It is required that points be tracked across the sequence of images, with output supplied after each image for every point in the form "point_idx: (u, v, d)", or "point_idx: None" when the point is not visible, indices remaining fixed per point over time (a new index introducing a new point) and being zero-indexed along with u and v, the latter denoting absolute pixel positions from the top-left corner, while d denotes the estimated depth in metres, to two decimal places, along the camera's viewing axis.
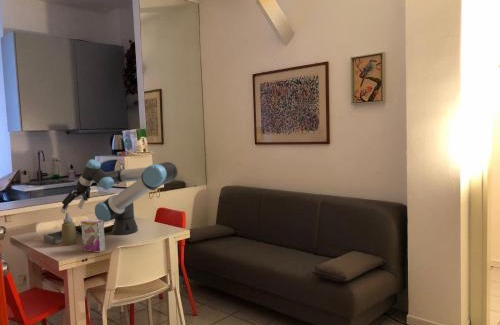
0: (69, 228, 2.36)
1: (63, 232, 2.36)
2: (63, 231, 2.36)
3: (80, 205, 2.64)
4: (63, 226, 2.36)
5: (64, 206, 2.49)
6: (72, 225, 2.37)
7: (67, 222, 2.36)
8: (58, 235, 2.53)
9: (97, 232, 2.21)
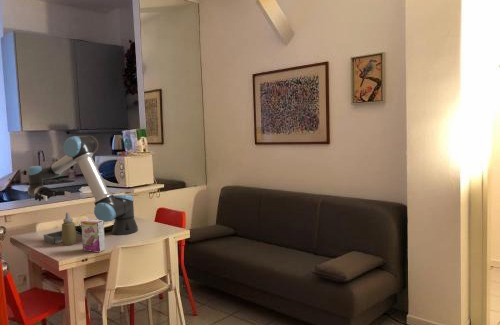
0: (69, 228, 2.36)
1: (63, 232, 2.36)
2: (63, 231, 2.36)
3: (68, 194, 2.49)
4: (63, 226, 2.36)
5: (39, 197, 2.41)
6: (72, 225, 2.37)
7: (67, 222, 2.36)
8: (58, 235, 2.53)
9: (97, 232, 2.21)
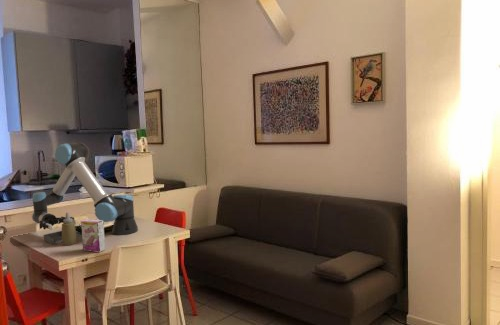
0: (69, 228, 2.36)
1: (63, 232, 2.36)
2: (63, 231, 2.36)
3: (72, 221, 2.48)
4: (63, 226, 2.36)
5: (44, 225, 2.39)
6: (72, 225, 2.37)
7: (67, 222, 2.36)
8: (58, 235, 2.53)
9: (97, 232, 2.21)
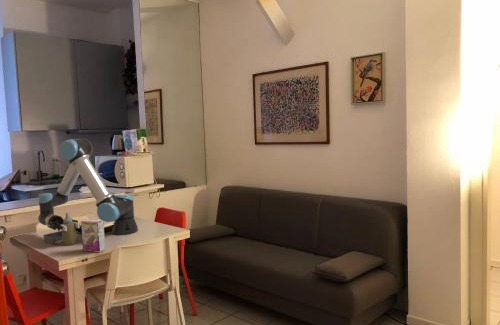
0: (69, 228, 2.36)
1: (63, 232, 2.36)
2: (63, 231, 2.36)
3: (76, 224, 2.39)
4: None
5: (58, 226, 2.35)
6: (72, 225, 2.37)
7: (67, 222, 2.36)
8: (58, 235, 2.53)
9: (97, 231, 2.21)
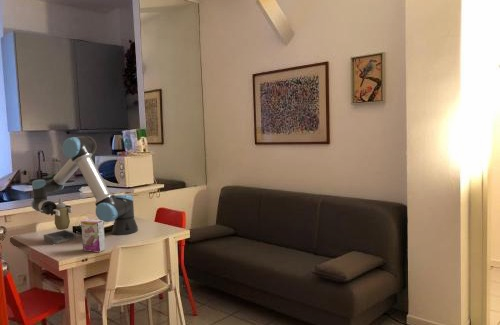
0: (62, 213, 2.39)
1: (56, 217, 2.39)
2: (56, 216, 2.39)
3: (69, 210, 2.42)
4: None
5: (51, 211, 2.38)
6: (65, 210, 2.41)
7: (60, 207, 2.40)
8: (58, 235, 2.53)
9: (97, 232, 2.21)
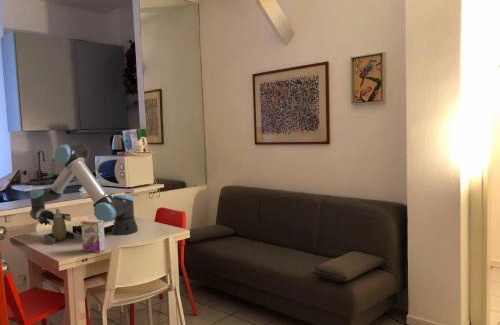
0: (59, 224, 2.44)
1: (53, 227, 2.44)
2: (53, 226, 2.44)
3: (68, 218, 2.49)
4: (53, 222, 2.44)
5: (45, 221, 2.43)
6: (62, 221, 2.46)
7: (57, 218, 2.45)
8: None
9: (97, 231, 2.21)
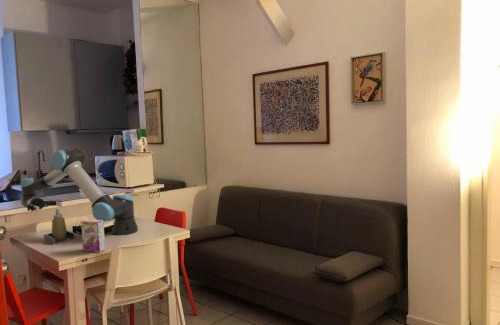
0: (59, 223, 2.44)
1: (53, 227, 2.44)
2: (53, 226, 2.44)
3: (59, 204, 2.59)
4: (53, 222, 2.44)
5: (32, 207, 2.50)
6: (62, 221, 2.46)
7: (57, 218, 2.45)
8: None
9: (97, 232, 2.21)
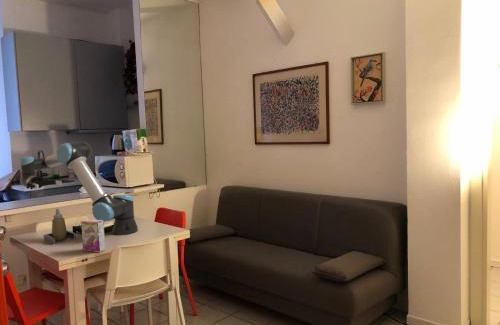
0: (59, 223, 2.44)
1: (53, 227, 2.44)
2: (53, 226, 2.44)
3: (59, 182, 2.57)
4: (53, 222, 2.44)
5: (31, 185, 2.48)
6: (62, 221, 2.46)
7: (57, 218, 2.45)
8: None
9: (97, 232, 2.21)
